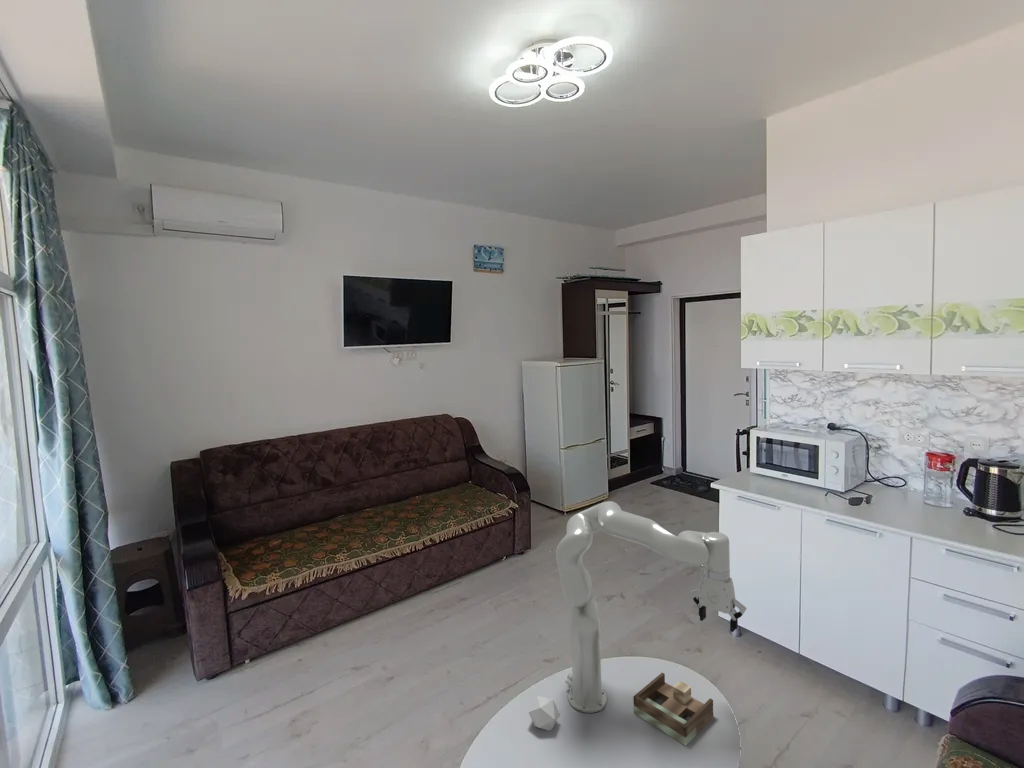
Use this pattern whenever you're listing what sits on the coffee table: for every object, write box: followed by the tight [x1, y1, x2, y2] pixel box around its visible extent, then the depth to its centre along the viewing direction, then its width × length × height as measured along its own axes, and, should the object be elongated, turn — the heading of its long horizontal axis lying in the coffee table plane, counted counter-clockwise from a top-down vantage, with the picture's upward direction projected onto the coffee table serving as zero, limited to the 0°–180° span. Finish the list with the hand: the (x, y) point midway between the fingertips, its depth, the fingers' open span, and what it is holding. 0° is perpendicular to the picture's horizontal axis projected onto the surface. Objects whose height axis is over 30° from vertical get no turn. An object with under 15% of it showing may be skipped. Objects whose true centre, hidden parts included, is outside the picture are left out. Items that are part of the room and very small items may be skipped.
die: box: [528, 695, 561, 732], centre depth 153 cm, size 8×9×10 cm
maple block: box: [673, 680, 692, 705], centre depth 158 cm, size 4×4×4 cm
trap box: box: [632, 672, 714, 747], centre depth 155 cm, size 18×16×6 cm
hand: (717, 624), depth 157 cm, fingers open, 9 cm apart
